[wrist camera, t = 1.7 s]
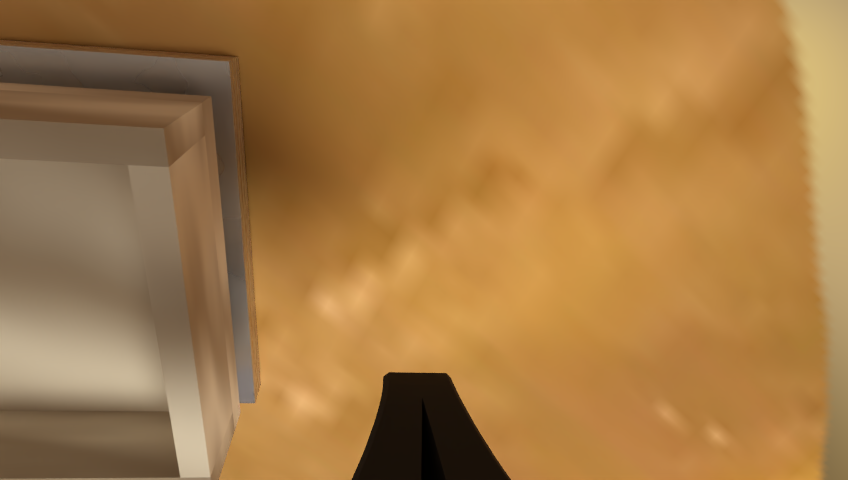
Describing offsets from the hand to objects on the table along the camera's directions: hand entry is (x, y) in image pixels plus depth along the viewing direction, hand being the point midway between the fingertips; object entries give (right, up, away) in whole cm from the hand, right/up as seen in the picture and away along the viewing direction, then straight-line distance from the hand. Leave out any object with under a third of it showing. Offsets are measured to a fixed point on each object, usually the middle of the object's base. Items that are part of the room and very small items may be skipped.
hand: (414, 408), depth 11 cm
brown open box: (-11, +3, +5) cm, 12 cm away
